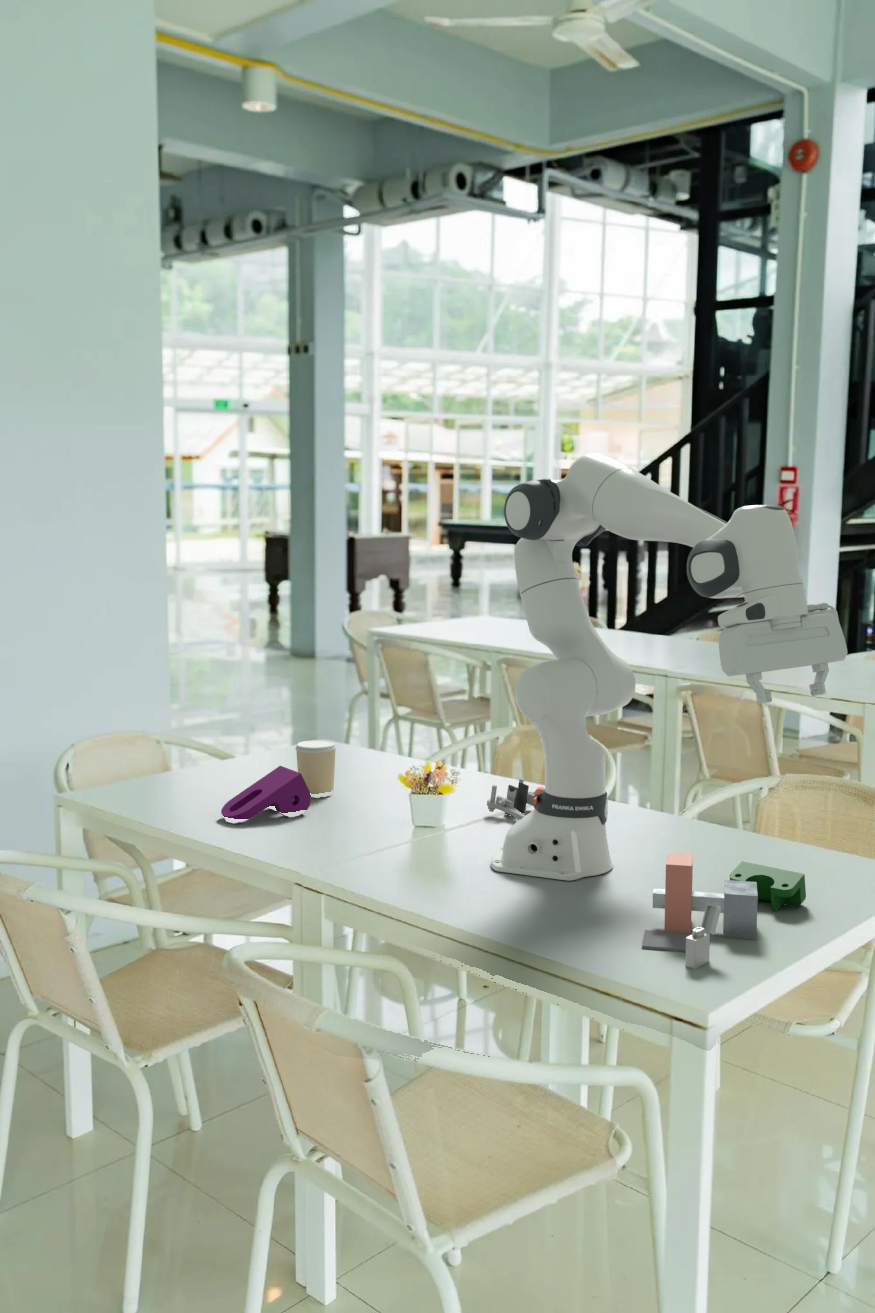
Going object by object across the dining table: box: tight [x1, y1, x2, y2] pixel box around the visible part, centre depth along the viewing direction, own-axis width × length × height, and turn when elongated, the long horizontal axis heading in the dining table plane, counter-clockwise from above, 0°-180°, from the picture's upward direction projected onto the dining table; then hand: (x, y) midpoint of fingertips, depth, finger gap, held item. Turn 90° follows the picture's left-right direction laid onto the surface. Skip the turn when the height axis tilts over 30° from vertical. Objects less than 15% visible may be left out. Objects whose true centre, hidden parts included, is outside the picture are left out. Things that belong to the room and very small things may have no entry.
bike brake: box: [486, 777, 535, 821], centre depth 255 cm, size 14×7×20 cm
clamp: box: [728, 860, 807, 912], centre depth 200 cm, size 12×6×9 cm, turn 44°
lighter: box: [684, 904, 721, 969], centre depth 175 cm, size 7×2×8 cm, turn 137°
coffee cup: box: [295, 739, 337, 794], centre depth 276 cm, size 9×9×12 cm
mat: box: [641, 929, 691, 953], centre depth 183 cm, size 7×7×1 cm
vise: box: [652, 879, 759, 941], centre depth 189 cm, size 16×7×7 cm, turn 77°
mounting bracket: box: [220, 765, 312, 820], centre depth 258 cm, size 9×8×18 cm
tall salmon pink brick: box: [663, 852, 694, 934], centre depth 189 cm, size 4×6×11 cm, turn 167°
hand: (792, 699), depth 178 cm, fingers open, 8 cm apart
